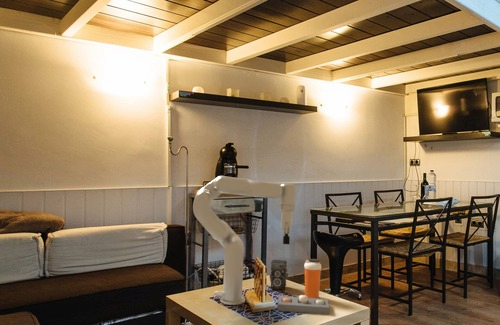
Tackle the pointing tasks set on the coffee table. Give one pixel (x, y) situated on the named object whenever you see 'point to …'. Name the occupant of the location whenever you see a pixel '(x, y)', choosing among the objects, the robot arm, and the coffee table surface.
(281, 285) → the camera
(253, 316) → the coffee table surface
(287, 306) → the panel
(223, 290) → the robot arm
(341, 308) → the coffee table surface
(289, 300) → the button rust
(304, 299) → the button cream
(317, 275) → the shaker bottle
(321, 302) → the button sage
